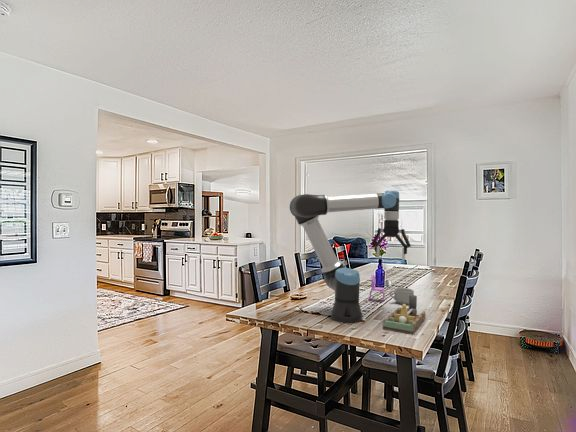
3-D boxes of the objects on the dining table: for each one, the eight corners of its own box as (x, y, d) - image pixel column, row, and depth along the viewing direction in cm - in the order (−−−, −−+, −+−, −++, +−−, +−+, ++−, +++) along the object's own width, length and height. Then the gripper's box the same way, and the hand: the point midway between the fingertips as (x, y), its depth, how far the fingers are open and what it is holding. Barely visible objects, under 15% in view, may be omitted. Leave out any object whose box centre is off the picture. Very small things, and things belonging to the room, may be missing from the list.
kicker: (413, 325, 167) (413, 305, 167) (393, 321, 171) (393, 302, 171) (422, 314, 185) (423, 296, 185) (404, 311, 190) (404, 294, 190)
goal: (413, 331, 157) (413, 325, 157) (382, 326, 163) (383, 320, 163) (416, 326, 163) (417, 321, 163) (387, 321, 170) (387, 316, 170)
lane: (413, 334, 157) (413, 324, 157) (382, 328, 163) (383, 319, 163) (425, 318, 181) (425, 309, 181) (398, 314, 188) (398, 305, 188)
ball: (404, 326, 167) (403, 322, 165) (397, 323, 169) (396, 319, 167) (408, 320, 168) (407, 316, 166) (401, 317, 171) (400, 313, 169)
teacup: (411, 301, 216) (411, 287, 216) (415, 306, 206) (416, 291, 206) (387, 300, 218) (387, 286, 218) (390, 305, 207) (390, 290, 207)
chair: (383, 303, 211) (383, 276, 211) (367, 301, 214) (368, 275, 214) (384, 300, 219) (385, 274, 219) (369, 298, 222) (370, 273, 222)
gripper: (417, 220, 194) (416, 260, 194) (370, 219, 207) (370, 256, 207) (414, 220, 188) (413, 262, 188) (366, 219, 200) (365, 258, 201)
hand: (390, 259), depth 198 cm, fingers open, 13 cm apart
